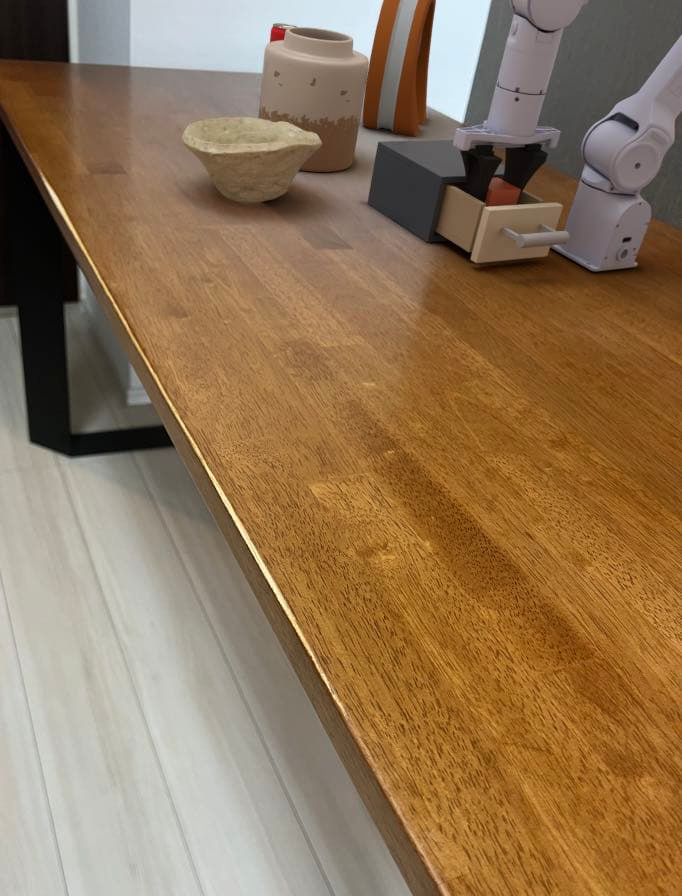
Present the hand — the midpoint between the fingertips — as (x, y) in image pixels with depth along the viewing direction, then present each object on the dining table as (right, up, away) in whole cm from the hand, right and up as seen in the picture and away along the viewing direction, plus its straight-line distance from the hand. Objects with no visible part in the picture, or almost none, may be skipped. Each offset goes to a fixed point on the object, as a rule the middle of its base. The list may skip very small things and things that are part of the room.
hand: (489, 208), depth 107 cm
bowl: (-31, +5, +9) cm, 32 cm away
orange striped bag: (-5, +35, +50) cm, 61 cm away
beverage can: (-26, +41, +54) cm, 73 cm away
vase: (-22, +18, +26) cm, 39 cm away
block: (0, -1, +1) cm, 2 cm away
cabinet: (-5, +2, +10) cm, 11 cm away
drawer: (0, -4, +1) cm, 4 cm away
